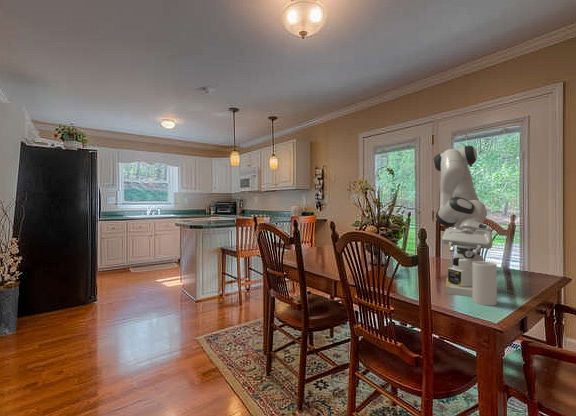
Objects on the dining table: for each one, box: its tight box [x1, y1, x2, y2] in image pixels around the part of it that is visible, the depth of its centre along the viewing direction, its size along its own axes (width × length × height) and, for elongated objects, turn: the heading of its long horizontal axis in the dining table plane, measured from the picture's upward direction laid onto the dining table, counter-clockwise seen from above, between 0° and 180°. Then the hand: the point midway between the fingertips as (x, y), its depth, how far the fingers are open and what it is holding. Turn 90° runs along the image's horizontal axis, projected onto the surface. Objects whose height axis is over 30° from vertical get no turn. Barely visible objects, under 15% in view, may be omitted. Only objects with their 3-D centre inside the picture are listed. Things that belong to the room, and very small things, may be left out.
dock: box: [445, 276, 473, 298], centre depth 140 cm, size 18×12×3 cm, turn 152°
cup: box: [472, 260, 498, 307], centre depth 123 cm, size 8×8×16 cm
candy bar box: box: [381, 252, 394, 277], centre depth 168 cm, size 11×5×16 cm, turn 168°
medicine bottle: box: [447, 257, 473, 287], centre depth 138 cm, size 7×7×12 cm
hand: (462, 252), depth 137 cm, fingers open, 8 cm apart
